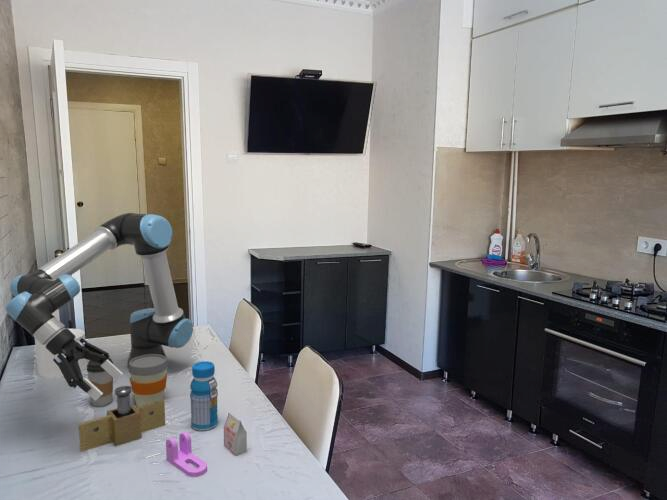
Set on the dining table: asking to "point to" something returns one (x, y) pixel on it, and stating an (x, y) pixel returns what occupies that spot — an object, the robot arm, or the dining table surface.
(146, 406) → the tan plate
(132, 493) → the dining table surface
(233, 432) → the small gable-top carton
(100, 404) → the coffee cup
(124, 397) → the hinge pin
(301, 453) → the dining table surface
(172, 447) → the bracket
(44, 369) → the white stepped cylinder block
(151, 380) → the reusable coffee cup
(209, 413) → the beverage bottle
